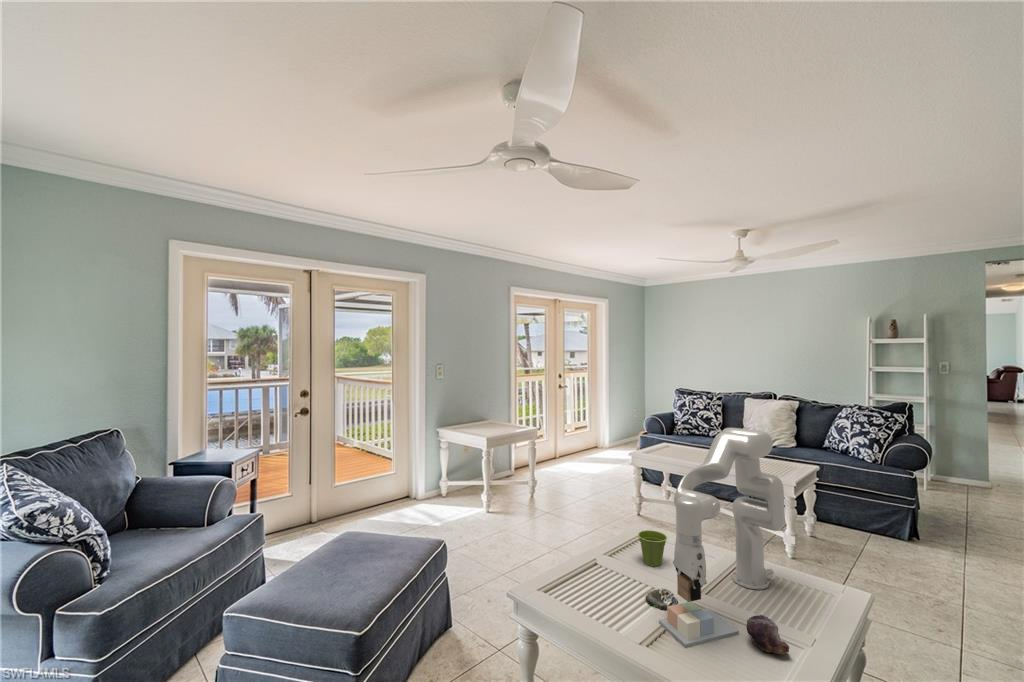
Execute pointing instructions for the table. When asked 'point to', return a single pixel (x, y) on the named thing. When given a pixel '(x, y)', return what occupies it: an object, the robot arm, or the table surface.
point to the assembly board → (720, 631)
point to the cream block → (688, 625)
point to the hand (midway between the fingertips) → (689, 594)
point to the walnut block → (685, 587)
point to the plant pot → (652, 546)
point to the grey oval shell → (661, 599)
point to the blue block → (704, 622)
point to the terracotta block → (675, 614)
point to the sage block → (691, 606)
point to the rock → (766, 634)
